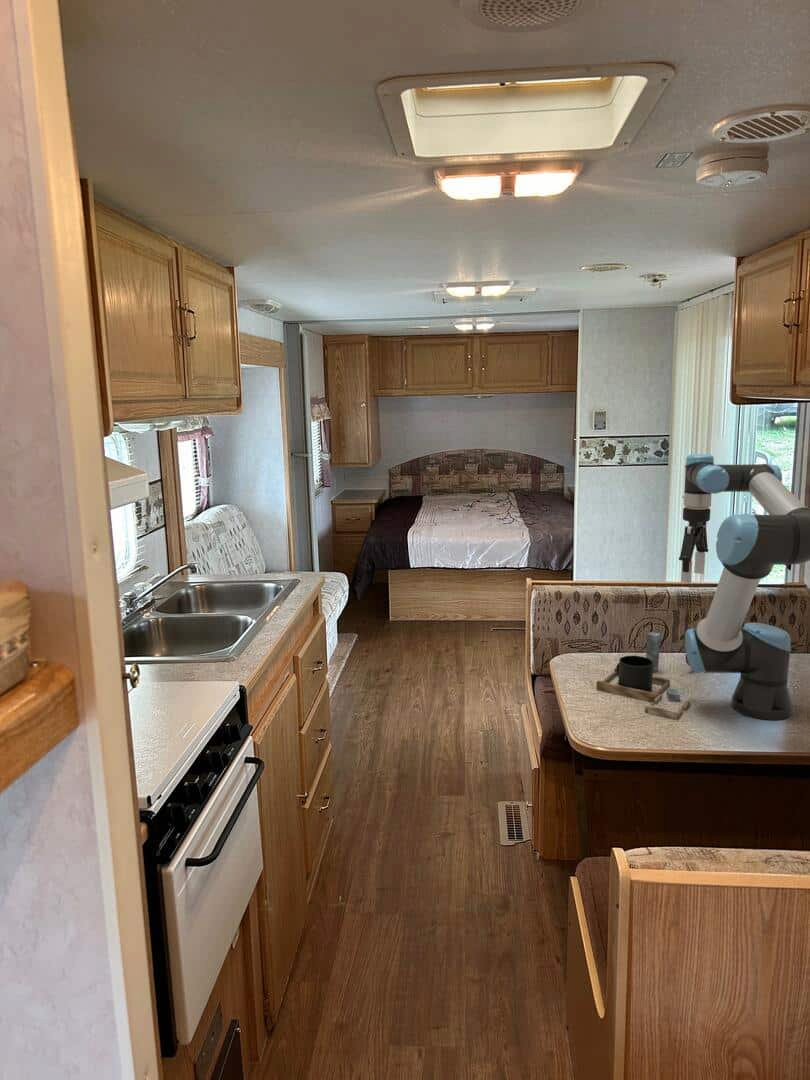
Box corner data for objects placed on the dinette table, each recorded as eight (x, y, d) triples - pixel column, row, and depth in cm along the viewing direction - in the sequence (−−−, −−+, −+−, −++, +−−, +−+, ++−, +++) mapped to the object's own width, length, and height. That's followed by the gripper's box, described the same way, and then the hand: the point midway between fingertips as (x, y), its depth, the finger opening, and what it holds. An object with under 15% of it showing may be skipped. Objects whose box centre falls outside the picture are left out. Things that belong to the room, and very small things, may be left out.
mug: (627, 679, 233) (628, 650, 232) (658, 692, 223) (660, 662, 222) (604, 685, 229) (605, 656, 227) (635, 699, 219) (637, 669, 217)
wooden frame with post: (680, 674, 236) (682, 637, 234) (652, 702, 216) (655, 661, 214) (627, 664, 246) (629, 628, 244) (596, 689, 226) (597, 650, 223)
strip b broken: (694, 699, 218) (695, 692, 218) (677, 719, 205) (677, 712, 204) (664, 692, 223) (664, 686, 223) (644, 712, 210) (645, 705, 209)
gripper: (695, 501, 238) (691, 568, 242) (670, 511, 218) (666, 584, 222) (721, 502, 234) (716, 571, 238) (698, 514, 214) (693, 588, 218)
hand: (692, 577), depth 230 cm, fingers open, 13 cm apart
